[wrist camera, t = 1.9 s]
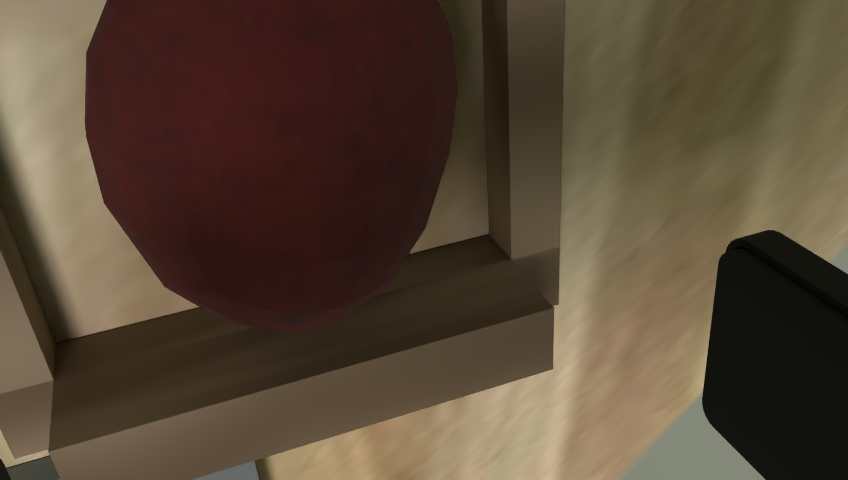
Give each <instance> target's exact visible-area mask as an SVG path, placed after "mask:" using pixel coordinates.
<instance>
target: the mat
mask: <svg viewBox="0 0 848 480" xmlns="http://www.w3.org/2000/svg"><path fill="white" fill-rule="evenodd" d="M7 472H8V474H9V476H10V478H11V480H61V479H60V477H59V475H58V472H57V470H56V468H55V466H54V463H53V461H52V459H51V457H50V456H49V457H46V458H42V459H39V460H35V461H32V462H28V463H25V464H21V465H18V466H14V467H11V468H7ZM193 480H259V476H258V472H257V468H256V464H255V461H252V462H248V463H245V464H242V465H238V466H235V467H232V468H229V469H225V470H222V471H219V472H216V473H212V474H209V475H206V476H203V477H199V478H196V479H193Z"/></svg>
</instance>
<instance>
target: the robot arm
mask: <svg viewBox="0 0 848 480" xmlns="http://www.w3.org/2000/svg"><path fill="white" fill-rule="evenodd" d="M702 405H703V410H704V412H705V415H706V417H707V419H708V421H709V423H710V424H711V425H712V426H713V427H714V428H715V429H716V430H717V431H718V432H719V433H720V434H721V435H722V436H723V437H724V438H725V439H726V440H727V441H728V442H729V443H730V444H731V445H732V446H733V447H734V448H735V449H736V450H737V451H738V452H739V453H740V454H741V455H742V456H743V457H744V458H745V459H746V460H747V461H748V462H749V463H750V464H751V465H752V466H753V467H754V468H755V469H756V470H757V471H758V472H759V473H760V474H761V475H762V476H763V477H764V478H765V479H766V480H848V274H846V273H845V272H843V271H842V270H840V269H838V268H837V267H835V266H834V265H832V264H830V263H829V262H827V261H825V260H824V259H822V258H821V257H819V256H817V255H816V254H814V253H812V252H811V251H809V250H807V249H806V248H804V247H803V246H801V245H799V244H798V243H796V242H794V241H793V240H791V239H790V238H788V237H786V236H785V235H783V234H781V233H779V232H777V231H774V230H767V231H763V232H760V233H756V234H752V235H749V236H745V237H742V238H738V239H735V240H733V241H731V242H730V244H729V245H728V247H727V249H726V253H724V254H723V255H722V256H721V257H720V260H719V263H718V271H717V280H716V288H715V297H714V305H713V313H712V322H711V330H710V338H709V347H708V355H707V364H706V372H705V380H704V389H703V397H702ZM0 480H11V478H10V476H9V474H8V472H7V469H6V467H5V465H4V464H3V462H2V460H1V459H0Z"/></svg>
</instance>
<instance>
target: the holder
mask: <svg viewBox="0 0 848 480" xmlns="http://www.w3.org/2000/svg"><path fill="white" fill-rule="evenodd" d="M564 16H565V0H482V27H483V57H484V87H485V118H486V148H487V178H488V209H489V235H486V236H482V237H478V238H474V239H470V240H466V241H462V242H458V243H454V244H450V245H446V246H442V247H438V248H434V249H430V250H426V251H422V252H418V253H415V254H411V255H408V256H407V257H406V259H405V260H404V262H403V263H402V265H401V267H400V268H399V270H398V271H397V273H396V274H395V276H394V277H393V279H392V280H391V282H390V284H389V285H388V287H387V288H386V289H385V290H384V291H382V292H381V293H379V294H378V295H377V296H375V297H374V298H373V299H371V300H370V301H368V302H367V303H366V304H364V305H363V306H362V307H360V308H359V309H357V310H356V311H355V312H353V313H352V314H350V315H349V316H348V317H346V318H345V319H344V320H342V321H341V322H339V323H336V324H331V325H327V326H322V327H318V328H313V329H308V330H304V331H299V332H295V333H290V334H289V333H284V332H279V331H273V330H268V329H262V328H257V327H251V326H246V325H240V324H236V323H232V322H228V321H224V320H222V319H220V318H218V317H217V316H215V315H213V314H211V313H210V312H208V311H206V310H204V309H203V308H201V307H200V308H197V309H193V310H189V311H185V312H181V313H177V314H173V315H169V316H165V317H161V318H157V319H153V320H149V321H145V322H141V323H137V324H133V325H129V326H125V327H121V328H117V329H113V330H109V331H105V332H101V333H97V334H93V335H89V336H86V337H82V338H78V339H74V340H70V341H66V342H62V343H58V344H56V342H55V340H54V337H53V335H52V332H51V330H50V327H49V325H48V322H47V320H46V317H45V315H44V312H43V310H42V307H41V305H40V302H39V300H38V297H37V294H36V292H35V289H34V287H33V284H32V282H31V279H30V277H29V274H28V272H27V269H26V267H25V264H24V262H23V259H22V257H21V254H20V252H19V249H18V247H17V244H16V241H15V239H14V236H13V234H12V231H11V229H10V226H9V224H8V221H7V219H6V216H5V214H4V211H3V209H2V206H1V204H0V429H1V431H2V433H3V436H4V438H5V440H6V442H7V444H8V446H9V448H10V450H11V452H12V454H13V457H14V459H15V458H19V457H22V456H26V455H29V454H33V453H36V452H40V451H44V450H47V449H49V450H48V452H49V454H50V457H51V459H52V461H53V463H54V466H55V468H56V470H57V472H58V475H59V477H60V479H61V480H193V479H196V478H199V477H203V476H206V475H209V474H212V473H216V472H219V471H222V470H225V469H229V468H232V467H235V466H238V465H242V464H245V463H248V462H252V461H255V460H258V459H261V458H265V457H268V456H271V455H274V454H278V453H281V452H284V451H287V450H291V449H294V448H297V447H300V446H304V445H307V444H310V443H313V442H317V441H320V440H323V439H327V438H330V437H333V436H336V435H340V434H343V433H346V432H349V431H353V430H356V429H359V428H362V427H366V426H369V425H372V424H375V423H379V422H382V421H385V420H388V419H392V418H395V417H398V416H402V415H405V414H408V413H411V412H415V411H418V410H421V409H424V408H428V407H431V406H434V405H437V404H441V403H444V402H447V401H450V400H454V399H457V398H460V397H463V396H467V395H470V394H473V393H477V392H480V391H483V390H486V389H490V388H493V387H496V386H499V385H503V384H506V383H509V382H512V381H516V380H519V379H522V378H525V377H529V376H532V375H535V374H538V373H542V372H545V371H548V370H552V369H553V338H554V307H553V306H554V305H558V304H559V256H560V208H561V160H562V112H563V64H564Z"/></svg>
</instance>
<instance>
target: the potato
mask: <svg viewBox="0 0 848 480" xmlns="http://www.w3.org/2000/svg"><path fill="white" fill-rule="evenodd" d="M456 96H457V81H456V72H455V63H454V53H453V44H452V37H451V33H450V30H449V26H448V22H447V20H446V18H445V16H444V14H443V11H442V9H441V7H440V5H439V3H438V1H437V0H107V2H106V4H105V7H104V9H103V12H102V14H101V17H100V19H99V22H98V24H97V27H96V29H95V32H94V35H93V37H92V40H91V42H90V45H89V47H88V50H87V52H86V94H85V129H86V137H87V141H88V145H89V149H90V152H91V156H92V160H93V164H94V167H95V171H96V175H97V179H98V182H99V186H100V190H101V193H102V197H103V201H104V204H105V205H106V206H107V208H108V209H109V211H110V212H111V213H112V215H113V216H114V218H115V219H116V220H117V222H118V223H119V224H120V226H121V227H122V229H123V230H124V231H125V233H126V234H127V235H128V237H129V238H130V240H131V241H132V242H133V244H134V245H135V247H136V248H137V249H138V251H139V252H140V253H141V255H142V256H143V258H144V259H145V260H146V262H147V263H148V264H149V266H150V267H151V269H152V270H153V271H154V273H155V274H156V275H157V277H158V278H159V280H160V281H161V282H162V284H163V285H164V287H166V288H168V289H169V290H171V291H173V292H175V293H176V294H178V295H180V296H182V297H183V298H185V299H187V300H189V301H190V302H192V303H194V304H196V305H197V306H199V307H201V308H203V309H204V310H206V311H208V312H210V313H211V314H213V315H215V316H217V317H218V318H220V319H222V320H224V321H228V322H232V323H236V324H240V325H246V326H251V327H257V328H262V329H268V330H273V331H279V332H284V333H289V334H290V333H295V332H299V331H304V330H308V329H313V328H318V327H322V326H327V325H331V324H336V323H339V322H341V321H342V320H344V319H345V318H346V317H348V316H349V315H350V314H352V313H353V312H355V311H356V310H357V309H359V308H360V307H362V306H363V305H364V304H366V303H367V302H368V301H370V300H371V299H373V298H374V297H375V296H377V295H378V294H379V293H381V292H382V291H384V290H385V289H386V288H387V287H388V285H389V284H390V282H391V280H392V279H393V277H394V276H395V274H396V273H397V271H398V270H399V268H400V267H401V265H402V263H403V262H404V260H405V259H406V257H407V256H408V254H409V253H410V251H411V249H412V248H413V246H414V245H415V243H416V242H417V240H418V239H419V237H420V236H421V234H422V232H423V231H424V229H425V228H426V224H427V221H428V218H429V215H430V212H431V209H432V205H433V202H434V199H435V196H436V193H437V190H438V187H439V183H440V180H441V177H442V174H443V171H444V168H445V164H446V161H447V158H448V155H449V149H450V142H451V134H452V126H453V119H454V111H455V104H456Z"/></svg>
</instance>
